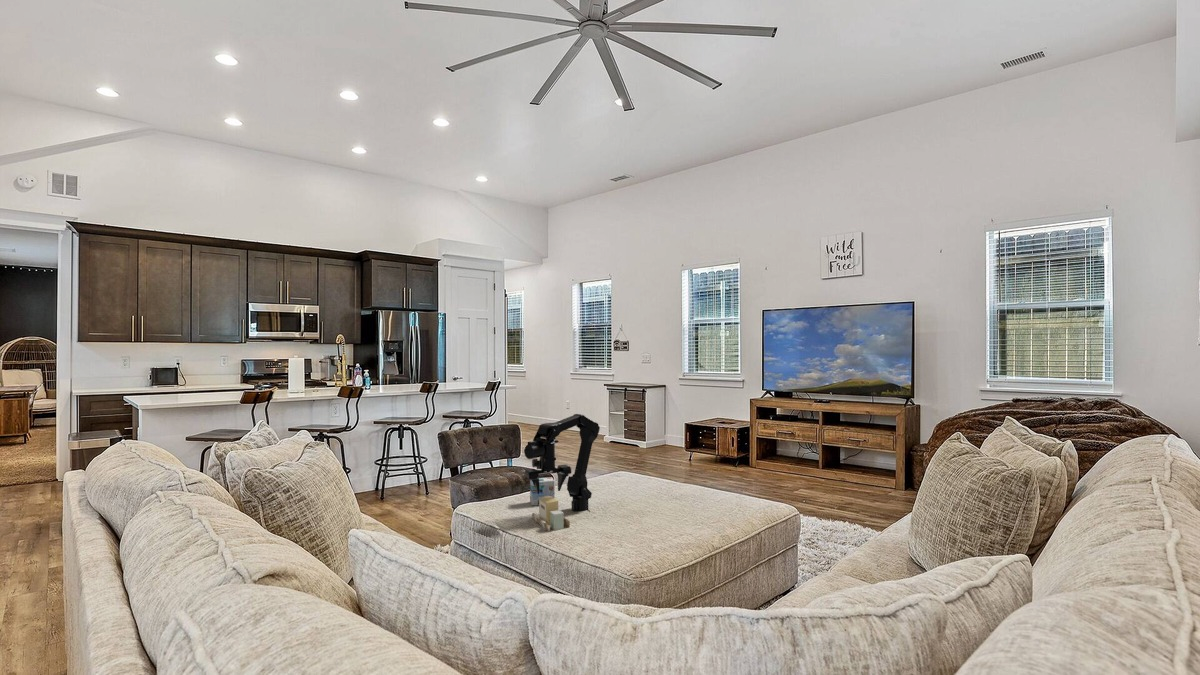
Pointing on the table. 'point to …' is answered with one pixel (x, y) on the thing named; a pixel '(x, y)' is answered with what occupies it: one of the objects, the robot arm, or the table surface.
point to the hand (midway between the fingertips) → (548, 492)
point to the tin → (556, 519)
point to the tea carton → (547, 507)
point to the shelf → (545, 525)
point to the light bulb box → (542, 490)
